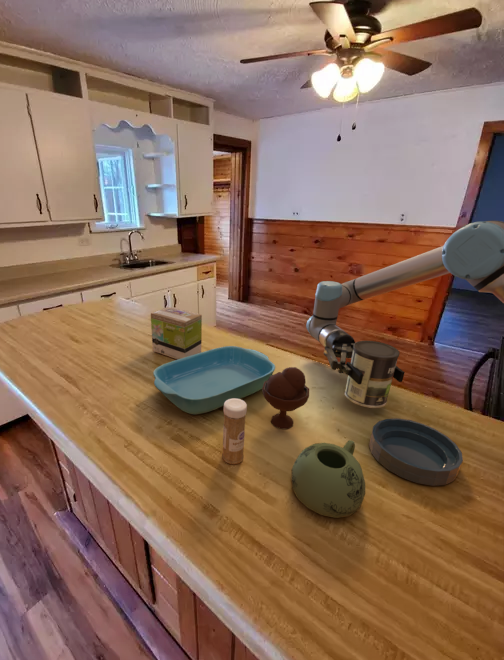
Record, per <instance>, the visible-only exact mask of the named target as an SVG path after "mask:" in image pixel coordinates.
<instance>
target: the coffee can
mask: <svg viewBox="0 0 504 660" xmlns="http://www.w3.org/2000/svg"><path fill="white" fill-rule="evenodd" d="M400 354H401V353H400V351H399V349H397V348H396V347H394V346H393V345H390V344H388V343H385V342H382V341H376V340H360V341H355V343H354V345H353V354H352V358H350V363H351V364H352V365H353V366H354V367H356V368H357V369H358V370H359V371H360V372H361V373H362V374H363V379H362V383H361V384H357V383H356V382H355V381H354V380H353V379H352V378H351V377H350V376H349V375H347V380H346V385H345V390H344V396H345V397H346V399H347V400H349V401H350V402H351V403H353V404H355V405H358V406H360V407H363V408H364V407H365V408H367V409H369V408H370V409H380V408H383V407H385V406H386V405H387V403H388V398H389V394H390V390H391V386H392V382H393V379H394V378H393V375H394V371H395V367H396V366H397V362H398V360H399V359H398V358H399V357H400Z"/></svg>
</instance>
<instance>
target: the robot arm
mask: <svg viewBox="0 0 504 660" xmlns="http://www.w3.org/2000/svg"><path fill="white" fill-rule="evenodd" d="M449 274H451V275H453V276H455V277H457V278H459V279H461V280H465V281H466V282H467V283H469V284H470V285H471V286H472V287H473V288H474V289H475V290H476V291H478V292H479V293H490V294H493V295H494V296H495V297H496V298H497V299H498V300H499V301H500V302H502V304H504V221H501V220H485V221H475V222H471V223H468V224H466V225H463V226H462V227H460V228H459V229H456V230H455V232H453V233H452V234H451V235H450V236H449V237H448V238H447V239H446V241H445V242H444V244H443V245H442V246H439V247H436V248H434V249H431V250H428V251H426V252H423V253H420V254H418V255H415V256H412V257H410V258H407V259H405V260H402V261H398V262H397V263H394V264H391V265H388V266H386V267H383V268H381V269H378V270H374V271H372V272H369V273H367V274H364V275H362V276H359V277H356V278H354V279H351V280H349V281H345V282H343V283H340V282H337V281H332V280H326V281H320V282H318V284H317V287H316V290H315V295H314V296H315V298H314V305H313V313H312V315H311V316H310V317H309V318H308V319H307V322H306V325H305V328H306V330H307V332H308V333H309V335H310V336H311V337H312V338H313V339H315V340H316V341H318V342H319V344H320V345H322V346H323V347H324V349H323V350H324V351H323V356H325V358H326V359H327V362H328V363H329V367H330V368H331V370H332V371H336V370H338V373H339V374H345V375H347V376H348V375H349V376H350V377H351V378H352V379H353V380H354V381H355V382H356V383H357V384H361V383H362V379H363V374H362V373H361V372H360V371H359V370H358V369H357V368H356V367H354V366H353V365H352V364H351V361H346V360H347V359H352V354H353V345H354V343H356V340H355V338H354V337H353V336H352V335H350V333H348V332H346V331H345V330H344V329H343V328H341V327H339V326H338V325H337V321H338V316H339V312H340V311H339V310H340V309H342V308H344V307H347V306H350V305H352V304H355V303H358V302H363V301H364V300H368V299H371V298H373V297H378V296H380V295H384V294H387V293H390V292H393V291H396V290H400V289H404V288H407V287H410V286H412V285H416V284H419V283H423V282H425V281H426V282H427V281H429V280H432V279H436V278H439V277H442V276H445V275H449ZM338 359H339V361H338ZM405 374H406V372H405V371H404V370H403V369H401V368H399V366H397V365H396V367H395V371H394V375H393V379H394V380H396V381H397V382H399V383H403V381H404V376H405Z"/></svg>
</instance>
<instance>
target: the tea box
mask: <svg viewBox="0 0 504 660" xmlns="http://www.w3.org/2000/svg"><path fill="white" fill-rule="evenodd" d="M202 317H203V315H202V314H201V313H197V312H193V311H189V310H185V309H180V308H177V307H173V306H167V307H164V308H161V309H159V310H157V311H153V312H151V313H150V326H151V327H150V328H151V345H152V351H153V353H157V354H161V355H163V356H166V357H169V358H172V359H175V360H178V359H181V358H184V357H188V356H191V355H194V354H198V353H201V352H202V342H203V341H202V335H203V334H202V333H203V332H202V330H203V329H202V328H203V327H202V325H203V323H202V322H203V321H202V320H203V318H202Z"/></svg>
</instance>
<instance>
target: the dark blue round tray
mask: <svg viewBox="0 0 504 660" xmlns="http://www.w3.org/2000/svg"><path fill="white" fill-rule="evenodd" d="M368 447H369V450H370V453H371V455H372V456H373V457H374V458H375V460H376V462H378V463H379V464H380V465H381V466H382V467H384V468H385V469H386V470H388V471H389V472H391V473H392V474H394V475H396V476H398V477H399V478H402V479H405V480H407V481H410V482H413V483H416V484H420V485H425V486H446V485H448V484H450V483H452V482H454V481H455V480H456V478H457V476H458V475H459V472H460V469H461V467H462V465H463V462H464V458H463V453H462V452H463V451H462V450H461V449H460V448H459V446H458V445H457V444H456V442H454V441H453V440H452V439H451V438H450V437H448V436H447V435H446V434H444V433H443V432H440V431H439V430H437V429H436V428H435V427H432V426H429V425H426V424H425V423H423V422H422V423H421V422H418V421H416V420H415V421H414V420H411V419H407V418H406V419H405V418H399V417H395V418H385V419H382V420H379V421H377V422H376V423H375V424H374V425H373V426H372V430H371V434H370V439H369V443H368Z"/></svg>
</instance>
